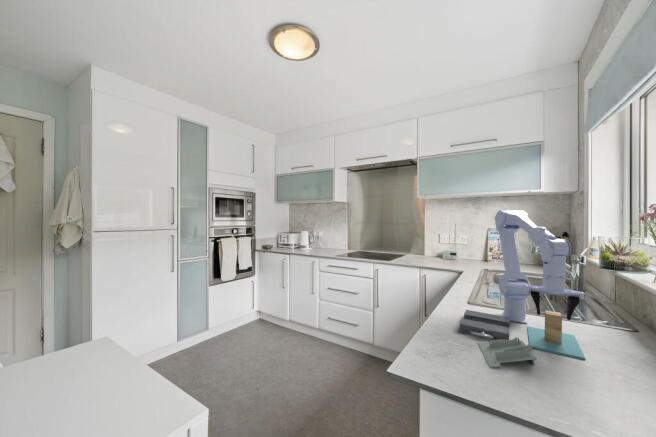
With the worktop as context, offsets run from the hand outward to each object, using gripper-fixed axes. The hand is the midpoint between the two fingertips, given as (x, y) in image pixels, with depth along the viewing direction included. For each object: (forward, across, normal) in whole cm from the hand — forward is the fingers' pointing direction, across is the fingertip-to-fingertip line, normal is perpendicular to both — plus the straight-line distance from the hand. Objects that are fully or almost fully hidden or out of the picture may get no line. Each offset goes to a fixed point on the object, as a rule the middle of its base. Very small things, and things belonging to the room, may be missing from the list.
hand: (553, 316), depth 90 cm
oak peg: (+8, 0, 0) cm, 8 cm away
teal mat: (+8, 0, 0) cm, 9 cm away
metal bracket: (+9, -12, -20) cm, 26 cm away
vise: (+9, -19, 0) cm, 21 cm away
